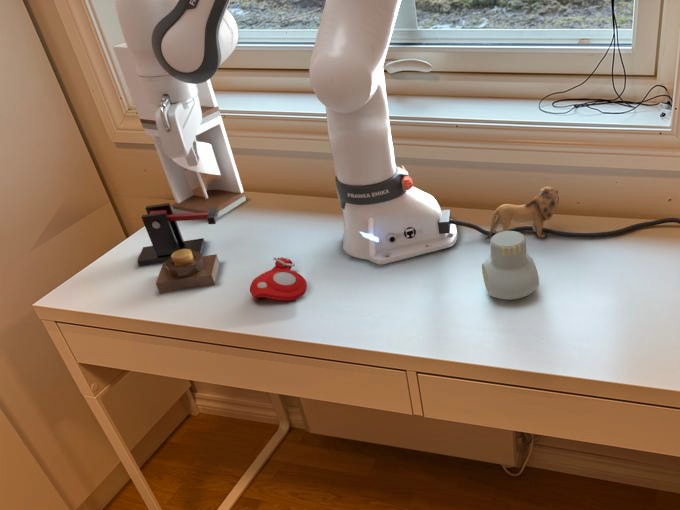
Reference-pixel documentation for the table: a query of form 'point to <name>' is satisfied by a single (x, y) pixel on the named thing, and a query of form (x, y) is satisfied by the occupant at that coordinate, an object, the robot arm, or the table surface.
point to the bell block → (188, 273)
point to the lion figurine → (527, 212)
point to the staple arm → (193, 215)
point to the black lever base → (164, 237)
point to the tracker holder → (279, 282)
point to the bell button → (182, 257)
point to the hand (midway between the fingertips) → (194, 163)
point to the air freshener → (509, 267)
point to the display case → (212, 145)
